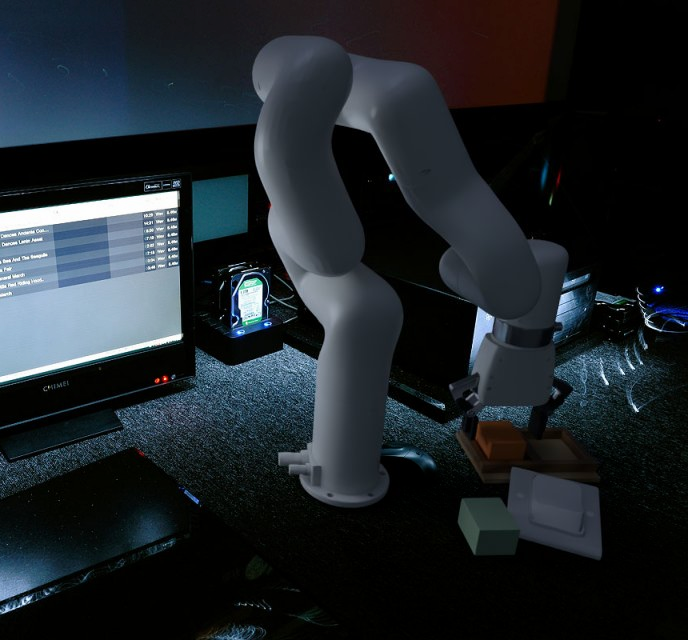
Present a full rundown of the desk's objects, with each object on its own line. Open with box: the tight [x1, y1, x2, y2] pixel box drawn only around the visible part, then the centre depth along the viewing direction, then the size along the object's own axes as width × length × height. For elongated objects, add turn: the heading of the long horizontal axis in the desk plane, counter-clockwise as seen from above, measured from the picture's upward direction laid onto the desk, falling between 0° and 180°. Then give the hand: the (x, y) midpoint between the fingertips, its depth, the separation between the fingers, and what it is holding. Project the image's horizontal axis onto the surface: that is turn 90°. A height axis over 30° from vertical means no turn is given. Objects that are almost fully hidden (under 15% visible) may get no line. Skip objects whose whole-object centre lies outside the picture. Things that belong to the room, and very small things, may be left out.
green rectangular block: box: [457, 497, 520, 556], centre depth 84 cm, size 5×6×4 cm
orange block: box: [474, 420, 527, 461], centre depth 99 cm, size 5×6×4 cm
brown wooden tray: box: [455, 426, 601, 484], centre depth 99 cm, size 16×12×2 cm
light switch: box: [506, 467, 603, 561], centre depth 87 cm, size 11×4×13 cm
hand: (501, 435), depth 98 cm, fingers open, 9 cm apart
